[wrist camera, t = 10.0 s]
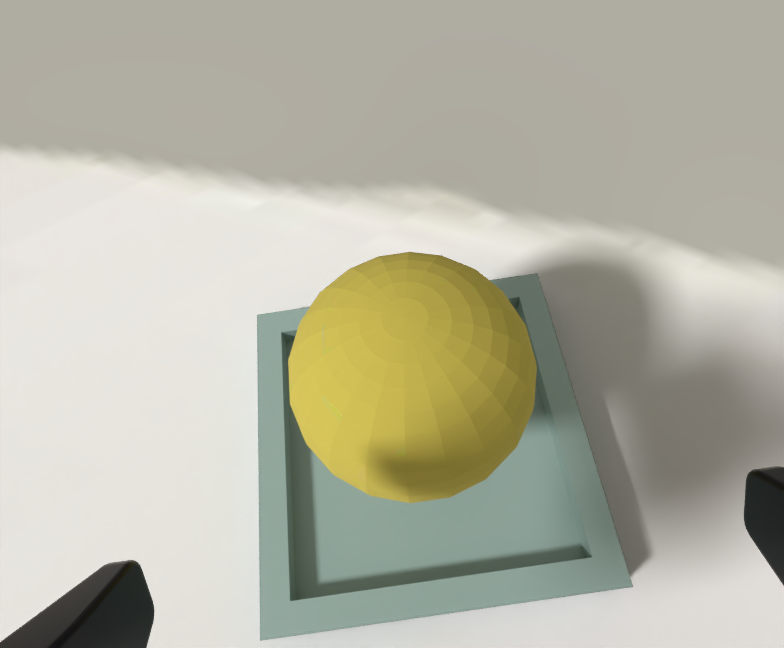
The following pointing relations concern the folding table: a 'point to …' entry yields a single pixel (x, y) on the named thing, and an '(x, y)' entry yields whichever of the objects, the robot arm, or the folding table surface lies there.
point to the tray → (429, 511)
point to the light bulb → (412, 377)
